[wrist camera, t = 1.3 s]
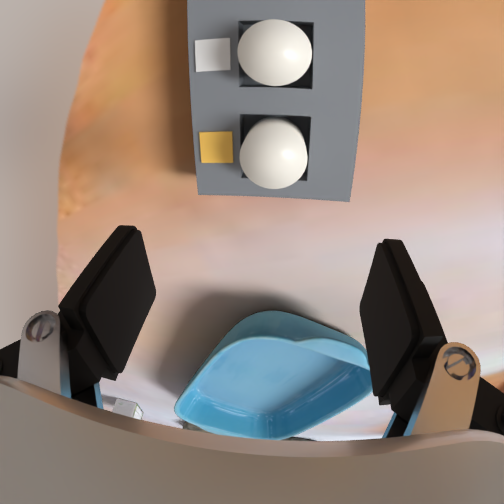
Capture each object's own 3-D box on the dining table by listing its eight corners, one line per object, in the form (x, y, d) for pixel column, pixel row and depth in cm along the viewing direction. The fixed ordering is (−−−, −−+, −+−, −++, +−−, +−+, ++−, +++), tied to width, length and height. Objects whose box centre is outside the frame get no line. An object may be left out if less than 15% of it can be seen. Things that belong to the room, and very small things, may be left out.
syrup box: (116, 397, 61) (97, 448, 49) (137, 402, 60) (120, 456, 49) (124, 407, 64) (107, 455, 52) (144, 412, 64) (129, 462, 52)
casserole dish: (272, 420, 57) (270, 450, 52) (171, 389, 53) (162, 420, 48) (402, 325, 37) (414, 369, 31) (254, 260, 33) (247, 308, 27)
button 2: (305, 117, 20) (309, 127, 18) (302, 172, 23) (305, 190, 20) (245, 115, 21) (238, 125, 18) (246, 170, 23) (240, 187, 20)
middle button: (308, 27, 16) (312, 21, 13) (307, 84, 19) (311, 87, 16) (244, 26, 17) (236, 19, 14) (245, 82, 19) (238, 85, 16)
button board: (350, -51, 13) (361, -68, 10) (341, 182, 26) (349, 202, 23) (202, -53, 14) (187, -69, 11) (209, 176, 27) (197, 195, 24)
